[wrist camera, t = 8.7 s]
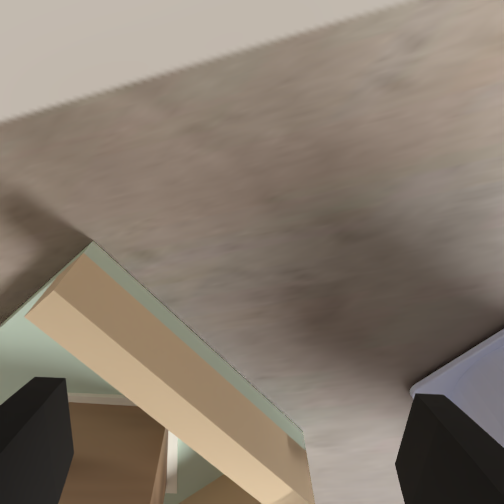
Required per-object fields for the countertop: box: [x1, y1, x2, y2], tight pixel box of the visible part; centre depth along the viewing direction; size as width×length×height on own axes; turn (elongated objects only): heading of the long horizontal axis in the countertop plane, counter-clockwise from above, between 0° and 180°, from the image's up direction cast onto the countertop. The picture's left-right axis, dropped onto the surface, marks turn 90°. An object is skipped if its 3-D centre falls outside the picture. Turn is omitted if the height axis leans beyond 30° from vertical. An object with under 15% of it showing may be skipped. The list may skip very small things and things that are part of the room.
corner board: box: [0, 241, 315, 504], centre depth 21 cm, size 14×19×4 cm
